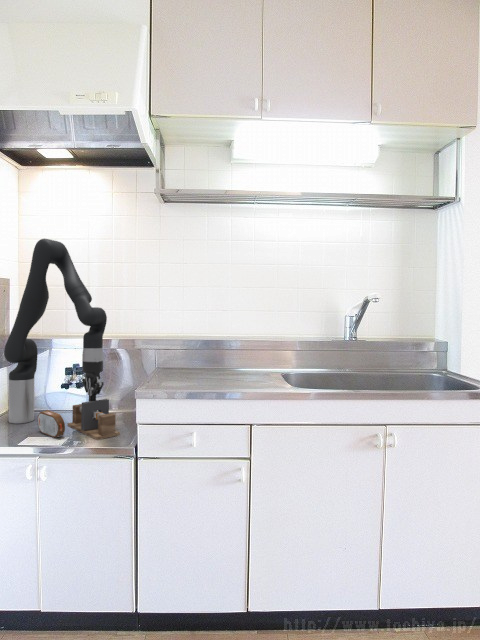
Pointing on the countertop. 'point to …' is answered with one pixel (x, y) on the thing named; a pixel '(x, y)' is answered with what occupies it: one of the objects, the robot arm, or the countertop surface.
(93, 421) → the dark grey square plate
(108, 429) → the rod stand
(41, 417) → the tin
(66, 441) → the countertop surface
